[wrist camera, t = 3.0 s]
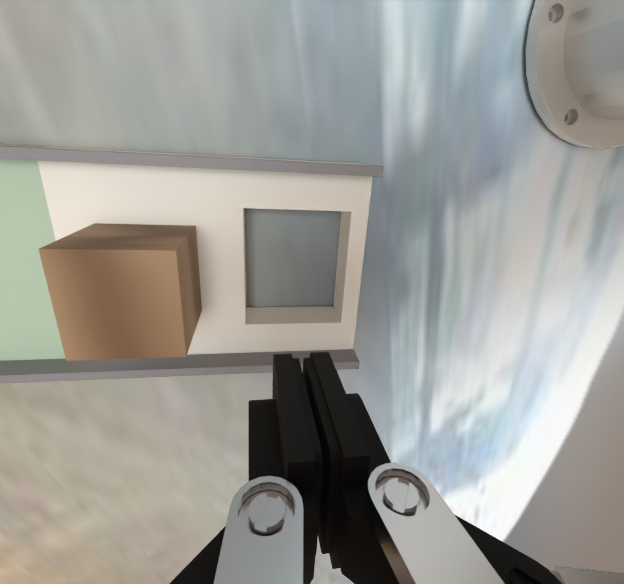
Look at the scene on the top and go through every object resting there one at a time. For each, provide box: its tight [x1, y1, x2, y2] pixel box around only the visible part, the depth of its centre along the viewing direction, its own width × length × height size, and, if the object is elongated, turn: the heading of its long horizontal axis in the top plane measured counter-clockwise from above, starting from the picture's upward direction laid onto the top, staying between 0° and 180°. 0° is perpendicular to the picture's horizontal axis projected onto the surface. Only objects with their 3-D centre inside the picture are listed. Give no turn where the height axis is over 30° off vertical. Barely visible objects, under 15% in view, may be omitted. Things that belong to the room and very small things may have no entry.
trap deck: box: [0, 144, 383, 384], centre depth 19 cm, size 30×12×4 cm, turn 87°
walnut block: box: [38, 223, 202, 361], centre depth 17 cm, size 5×5×5 cm
